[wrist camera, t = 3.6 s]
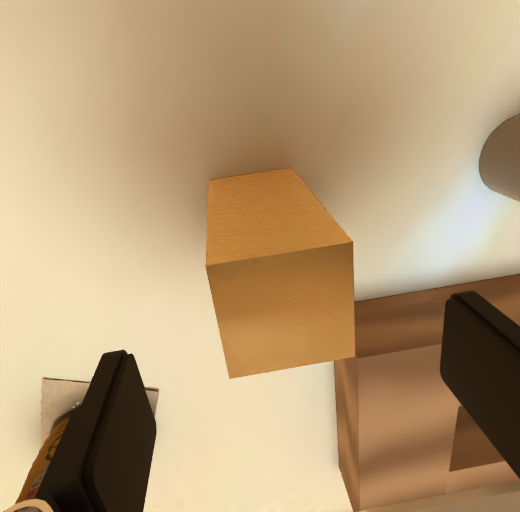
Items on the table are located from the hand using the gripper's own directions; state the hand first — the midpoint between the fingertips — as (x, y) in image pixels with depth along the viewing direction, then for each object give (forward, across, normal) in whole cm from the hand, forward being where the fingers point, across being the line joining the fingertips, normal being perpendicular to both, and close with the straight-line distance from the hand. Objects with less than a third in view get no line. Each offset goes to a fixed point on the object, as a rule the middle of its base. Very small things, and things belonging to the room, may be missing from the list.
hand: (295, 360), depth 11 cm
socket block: (+12, -13, +14) cm, 22 cm away
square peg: (+11, 0, -1) cm, 11 cm away
